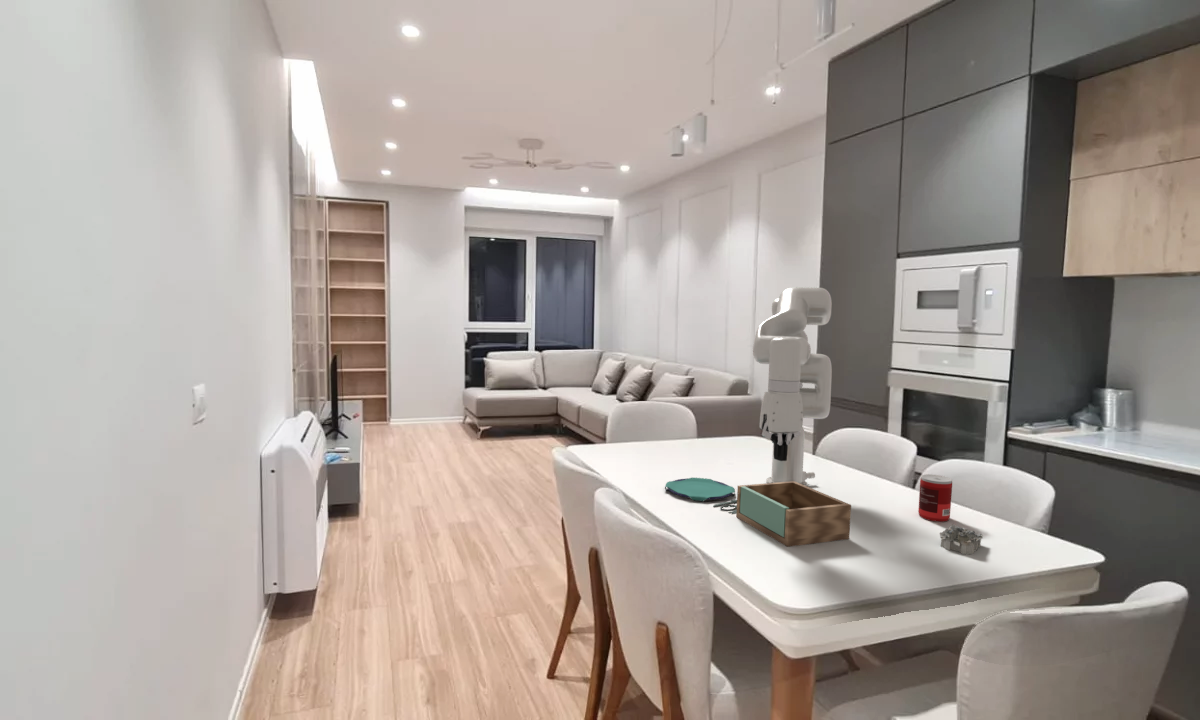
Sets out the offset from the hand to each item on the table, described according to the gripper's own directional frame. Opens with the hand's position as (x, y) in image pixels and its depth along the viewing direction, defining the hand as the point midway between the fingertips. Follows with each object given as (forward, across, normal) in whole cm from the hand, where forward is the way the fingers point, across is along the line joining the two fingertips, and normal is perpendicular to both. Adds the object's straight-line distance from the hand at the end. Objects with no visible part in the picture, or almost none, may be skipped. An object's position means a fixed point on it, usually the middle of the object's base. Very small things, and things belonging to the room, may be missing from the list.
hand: (780, 459), depth 155 cm
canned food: (+18, -48, +4) cm, 52 cm away
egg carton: (+18, -36, +22) cm, 46 cm away
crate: (+18, -4, 0) cm, 18 cm away
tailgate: (+16, +5, 0) cm, 17 cm away
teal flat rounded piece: (+18, +2, -30) cm, 35 cm away
